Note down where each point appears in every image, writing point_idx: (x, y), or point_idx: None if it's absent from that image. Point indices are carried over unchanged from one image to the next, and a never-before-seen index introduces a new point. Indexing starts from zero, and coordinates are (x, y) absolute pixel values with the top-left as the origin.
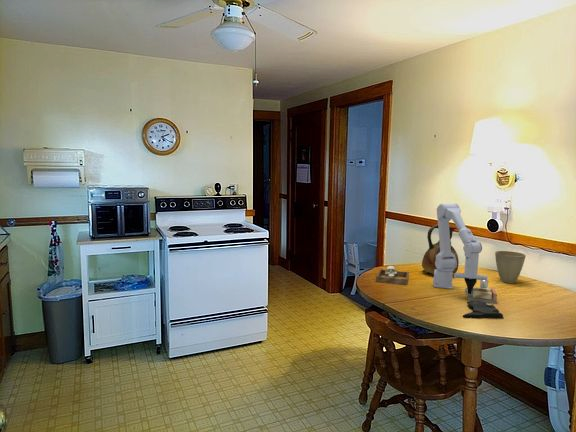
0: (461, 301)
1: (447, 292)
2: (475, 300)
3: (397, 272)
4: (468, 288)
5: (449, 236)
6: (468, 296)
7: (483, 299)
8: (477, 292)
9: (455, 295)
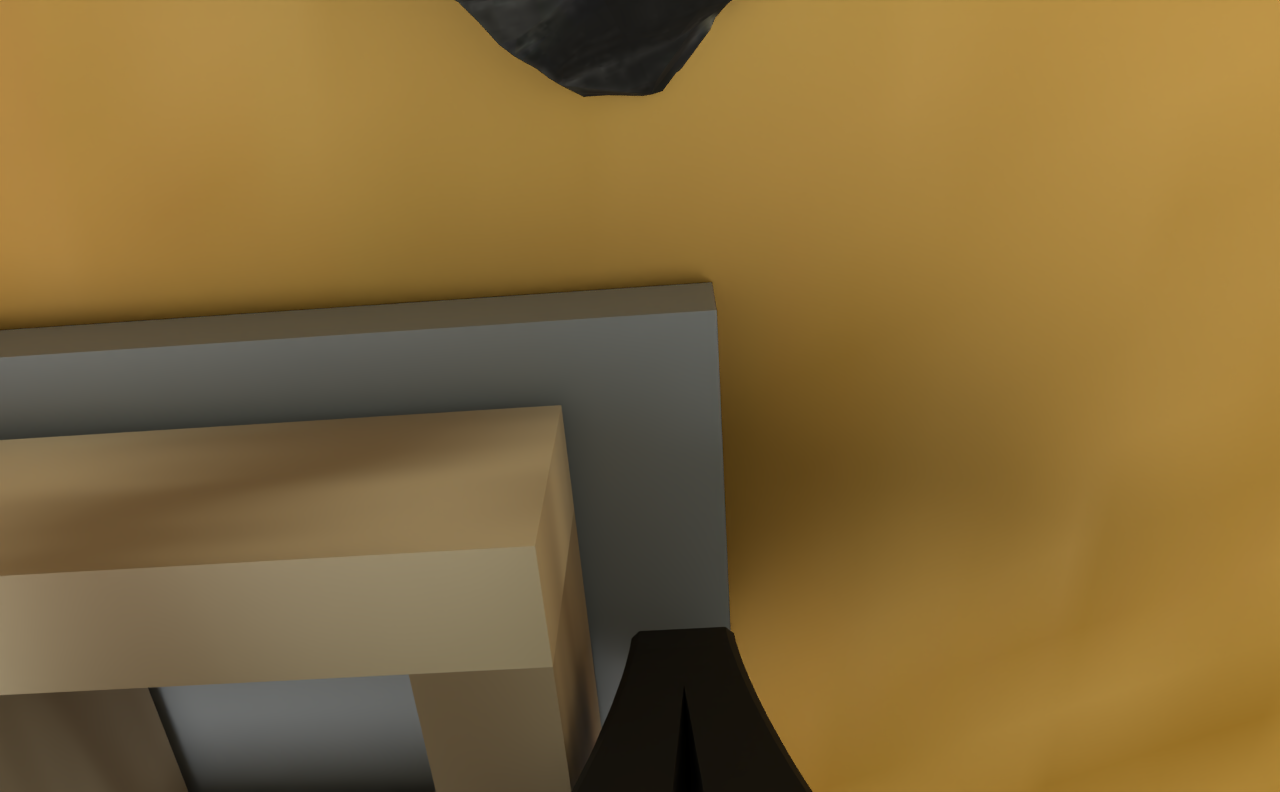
0: (982, 37)
1: (1263, 773)
2: (476, 305)
3: None
4: (755, 769)
5: None
6: (710, 526)
7: (208, 413)
8: (360, 545)
9: (1077, 614)
